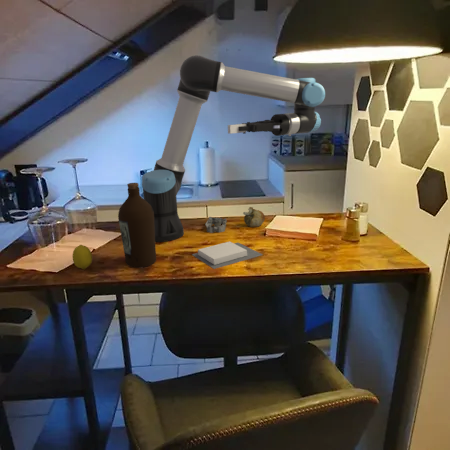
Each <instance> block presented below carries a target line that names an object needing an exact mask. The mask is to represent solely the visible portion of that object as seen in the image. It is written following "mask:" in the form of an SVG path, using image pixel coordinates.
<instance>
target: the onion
mask: <svg viewBox="0 0 450 450" xmlns="http://www.w3.org/2000/svg"><path fill="white" fill-rule="evenodd" d="M242 214H243V215H244V217H243V221H244V224H245V225H246V226H247V227H251V228H259V227H260V226H262V225H263V223H264V222H265V220H266V219H265V217H266V216H265V214H264V213H263V211H261V210H259V209H254V207H251V206H250V207H248V211H244V212H243V213H242Z"/></svg>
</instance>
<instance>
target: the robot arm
mask: <svg viewBox="0 0 450 450" xmlns="http://www.w3.org/2000/svg"><path fill="white" fill-rule="evenodd" d="M179 76H180V79H179V82H178V86H177V89H176V91H177V93H178V96H179V98H178V101H177V103H176V104H177V105H176V108H175V111H174V114H173V118H172V122H171V125H170V128H169V132H168V135H167V138H166V141H165V145H164V148H163V151H162V155H161V157H160V158H159V159H157V160H156V161H155V164H154V168H153V170H151V171H148V172H145V173H144V174H143V176H142V180H141V181H142V182H141V186H142V195H143V199H144V200H145V201H147V202H148V203H149V204H150V205H151V207H152V209H153V212H154V227H155V243H160V242H170V241H174V240H178V239H180V238H182V237H183V236H184V233H185V232H184V227H183V223H182V222H181V218H180V216H179V215H178V214H179V213H178V202H177V195H178V193H179V192H180V190H181V188H182V184H183V183H182V182H183V178H184V176H185V172H186V169H185V167H184V162H185V160H186V156H187V153H188V150H189V146H190V144H191V141H192V136H193V133H194V130H195V127H196V125H197V122H198V117H199V114H200V111H201V109H202V106H203V104H205V103H207V102H208V100H209V97H210V94H211V92H214V93H219V92H220V91H225V92H231V93H235V94H241V95H246V96H247V95H248V96H252V97H256V98H257V97H258V98H263V99H270V100H274V101H280V102H285V103H292V104H293V107H294V108H293V112H287V113H277V114H276V113H275V114H273V115H272V116H271V118H270V119H265V120H259V121H258V120H257V121H253V122H250V121H247V122H245V123H244V122H243V123H242V122H241V123H237V124H228V125H227V134H230V135H231V134H240V133H242V134H246V133H247V132H248V133H258V132H259V133H261V132H270V133H271V134H272V135H274V136H275V137H276V136H277V137H278V136H286V135H287V136H288V137H291V136H292V135H298V134H309V133H313V132H316V131H318V130H319V128H320V127H321V124H322V119H321V116H320V114H319V113H318V111H315V110H316V109H315V108H316V107H317V106H319V105H321V104H322V103H323V102H324V100H325V98H326V90H325V88H324V86H323V85H322V84H320V83H319V82H316V78H315V77H300V78H289V77H284V76H280V75H274V74H269V73H263V72H258V71H252V70H247V69H241V68H237V67H232V66H231V67H230V66H225V64H224V63H223V62H222V61H217V60H214V59H210V58H207V57H204V56H202V55H190V56H189V57H187V58H185V59H184V61H183V62H182V64H181V66H180V69H179Z"/></svg>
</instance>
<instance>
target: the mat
mask: <svg viewBox="0 0 450 450" xmlns="http://www.w3.org/2000/svg"><path fill="white" fill-rule="evenodd" d="M233 243H234V244H236V245H238V246H240V247H242V248H244V249H246V250H247V256H244V257H241V258H237V259H234V260H230V261H227V262H223V263H219V264H216V265H214V264H212V263H211V262H209V261H207V260H206V259H204V258H203V257H201V256H199V255H198V252H196V253H192V254H191V255H192V256H194V257H195V258H196V259H197V260H199V261H201V262H202V263H204V264H206V265H207V266H209V267H210V268H212V269H213V270H216V269H218V268H223V267H226V266H229V265H234V264H237V263H239V262H240V263H241V262H244V261H246V260H250V259H254V258H257V257H259V256H260V257H261V256H263V253H261V252H258V251H257V250H254V249H252V248H250V247H248V246H246V245H244V244H242V243H240V242H233Z"/></svg>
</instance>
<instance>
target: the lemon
mask: <svg viewBox="0 0 450 450" xmlns="http://www.w3.org/2000/svg"><path fill="white" fill-rule="evenodd" d="M72 261H73V265H75V267H77V268H79V269H82V270H86V269H87V268H88V267H89V266H91V264H92V262H93V254H92V251H91V250H90V248H89V247H88V246H86V245H83V244H79V245H78V246H76V247H75V248H74V250H73V251H72Z"/></svg>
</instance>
